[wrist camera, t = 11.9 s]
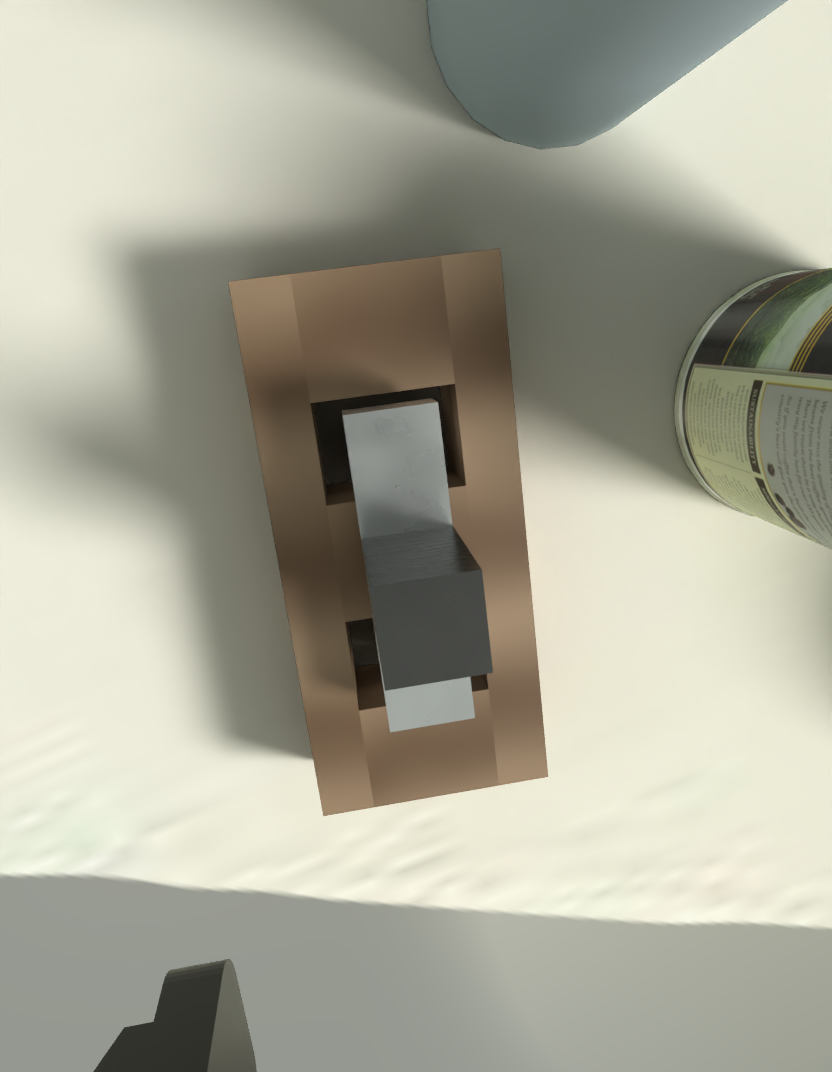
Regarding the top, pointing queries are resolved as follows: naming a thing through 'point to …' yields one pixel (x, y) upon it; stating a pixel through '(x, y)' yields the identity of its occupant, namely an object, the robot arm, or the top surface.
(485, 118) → the spray bottle
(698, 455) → the coffee can
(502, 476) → the wooden block with holes
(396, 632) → the clip
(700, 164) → the top surface
